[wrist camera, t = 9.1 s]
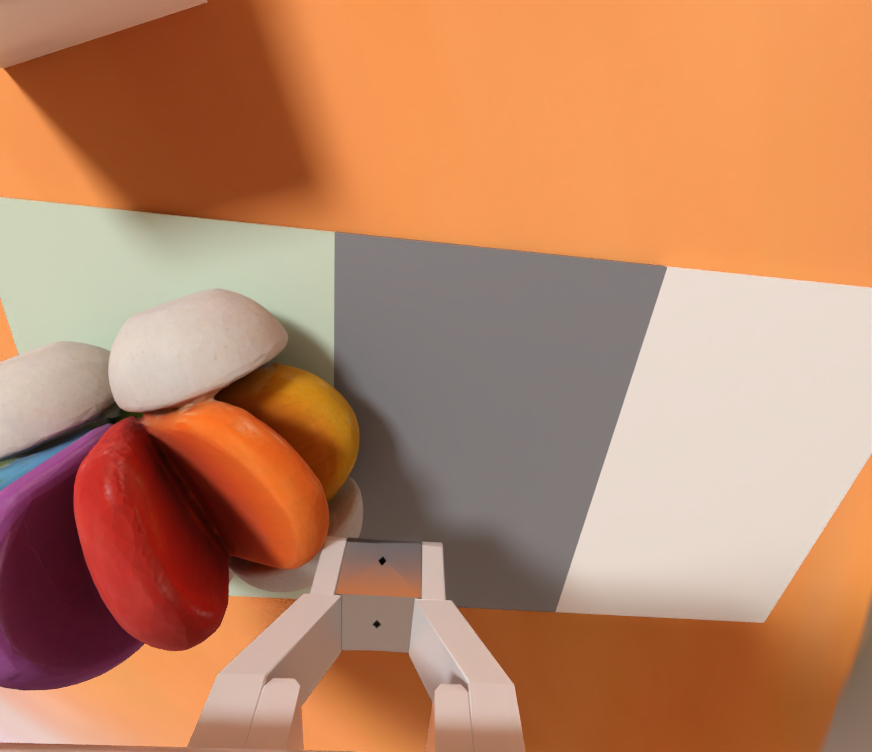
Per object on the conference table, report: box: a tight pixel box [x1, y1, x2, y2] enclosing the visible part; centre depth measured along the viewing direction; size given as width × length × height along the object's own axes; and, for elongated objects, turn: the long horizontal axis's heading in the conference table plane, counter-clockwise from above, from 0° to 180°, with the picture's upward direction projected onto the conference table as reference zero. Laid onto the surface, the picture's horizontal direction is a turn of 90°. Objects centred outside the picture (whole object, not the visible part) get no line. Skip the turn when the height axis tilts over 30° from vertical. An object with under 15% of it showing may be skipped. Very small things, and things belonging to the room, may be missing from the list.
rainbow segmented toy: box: [0, 288, 363, 690], centre depth 10 cm, size 8×10×7 cm
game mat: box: [0, 197, 872, 623], centre depth 15 cm, size 14×27×1 cm, turn 84°
